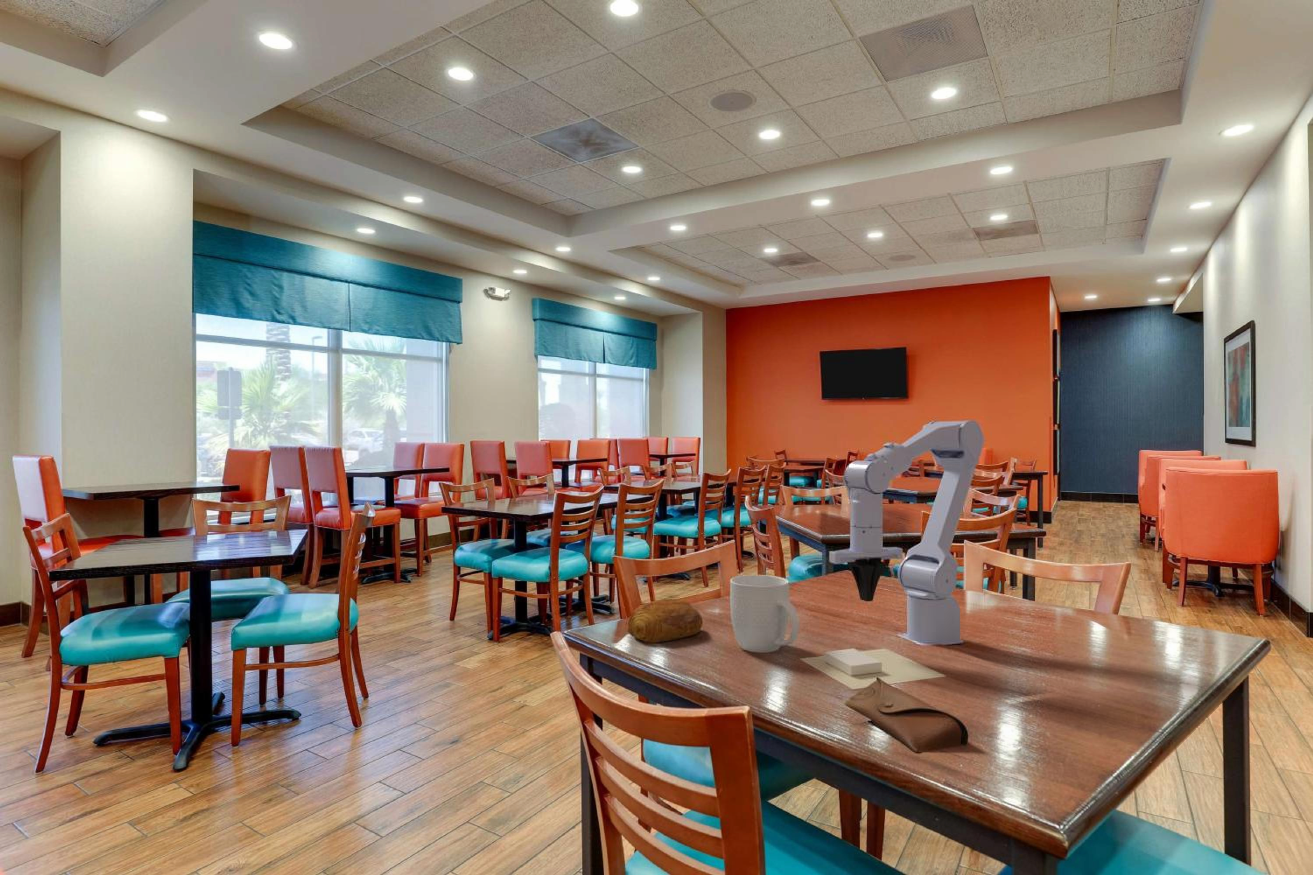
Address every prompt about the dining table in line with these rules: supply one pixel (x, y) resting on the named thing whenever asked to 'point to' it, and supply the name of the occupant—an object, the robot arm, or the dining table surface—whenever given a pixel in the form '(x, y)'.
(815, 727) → the dining table surface
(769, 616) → the mug
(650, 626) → the brown rounded lump
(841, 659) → the tile
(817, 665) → the mat
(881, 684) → the sunglasses case
